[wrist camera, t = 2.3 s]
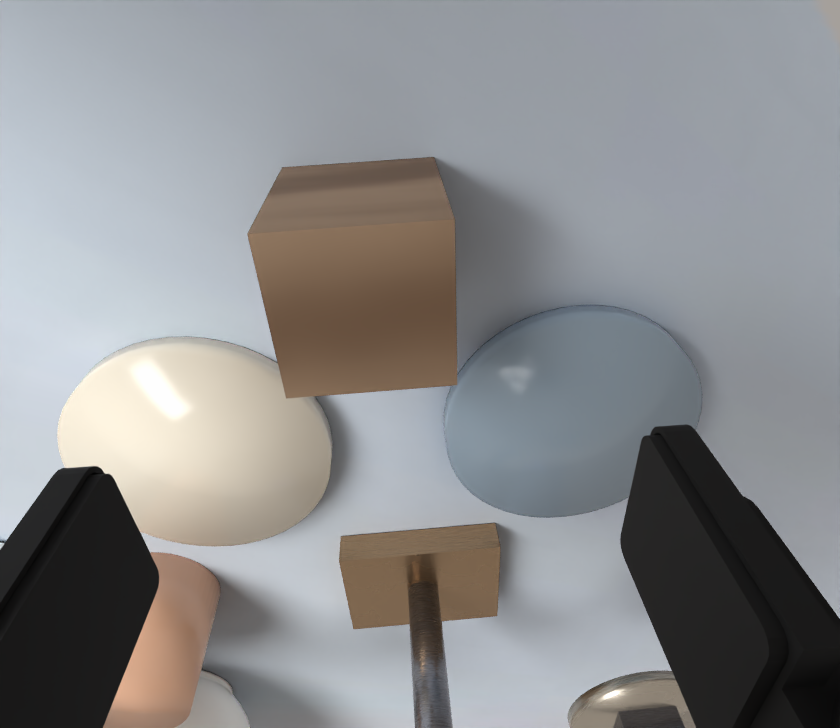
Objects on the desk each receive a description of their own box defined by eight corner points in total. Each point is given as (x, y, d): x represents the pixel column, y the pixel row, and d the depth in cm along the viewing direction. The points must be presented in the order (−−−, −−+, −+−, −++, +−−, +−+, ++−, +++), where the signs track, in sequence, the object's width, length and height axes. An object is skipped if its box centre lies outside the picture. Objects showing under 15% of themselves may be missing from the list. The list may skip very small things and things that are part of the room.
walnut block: (282, 167, 18) (247, 233, 13) (433, 156, 18) (455, 218, 13) (307, 301, 21) (286, 398, 16) (438, 292, 21) (457, 384, 16)
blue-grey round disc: (439, 316, 22) (442, 332, 21) (716, 294, 22) (732, 309, 21) (446, 507, 28) (449, 526, 27) (662, 489, 28) (672, 507, 27)
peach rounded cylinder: (85, 557, 28) (24, 678, 23) (204, 547, 28) (168, 665, 24) (126, 623, 32) (80, 741, 27) (232, 614, 32) (206, 729, 27)
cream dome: (23, 348, 21) (6, 365, 20) (311, 326, 22) (308, 342, 21) (124, 535, 27) (115, 555, 26) (346, 516, 28) (345, 535, 27)
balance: (217, 616, 32) (107, 1058, 19) (188, 549, 28) (27, 1031, 15) (625, 579, 32) (795, 982, 19) (643, 510, 29) (864, 940, 16)
